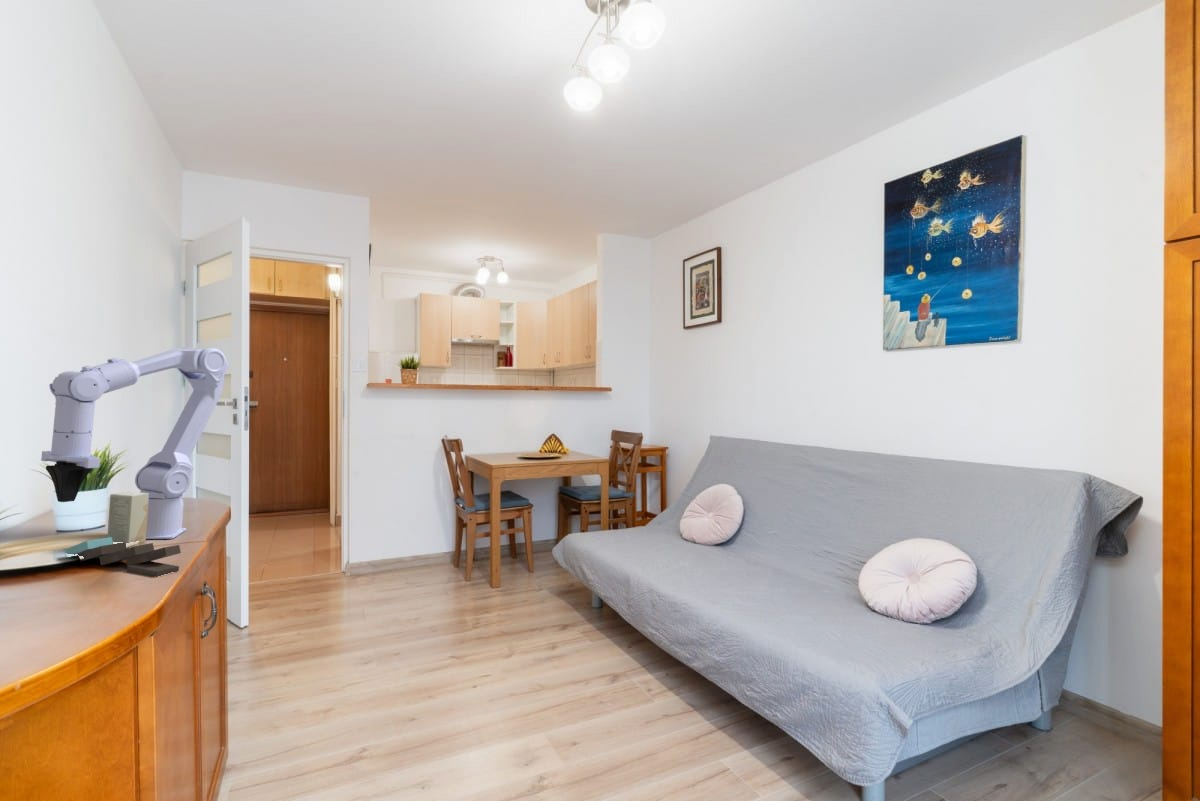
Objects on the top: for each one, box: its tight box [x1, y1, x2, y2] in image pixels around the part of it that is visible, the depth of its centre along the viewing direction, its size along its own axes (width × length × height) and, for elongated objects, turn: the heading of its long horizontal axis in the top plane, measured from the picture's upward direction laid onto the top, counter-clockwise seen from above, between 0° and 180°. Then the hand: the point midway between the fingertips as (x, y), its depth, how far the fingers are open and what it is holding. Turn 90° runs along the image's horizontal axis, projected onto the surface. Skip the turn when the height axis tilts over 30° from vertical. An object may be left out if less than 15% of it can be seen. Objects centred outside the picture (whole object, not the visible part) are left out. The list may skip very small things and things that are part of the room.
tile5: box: [126, 561, 180, 578], centre depth 105 cm, size 2×4×7 cm
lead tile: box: [65, 537, 113, 555], centre depth 109 cm, size 2×4×7 cm
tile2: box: [78, 542, 126, 562], centre depth 108 cm, size 2×4×7 cm
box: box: [106, 491, 149, 548], centre depth 119 cm, size 5×4×11 cm
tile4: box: [125, 544, 181, 567], centre depth 107 cm, size 2×4×7 cm
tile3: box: [99, 542, 155, 566], centre depth 107 cm, size 2×4×7 cm
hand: (66, 501), depth 112 cm, fingers closed
